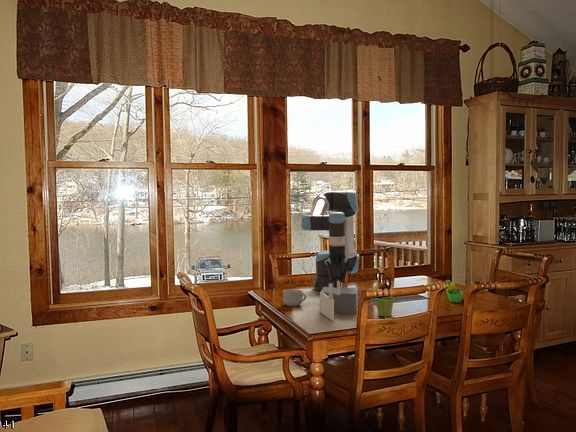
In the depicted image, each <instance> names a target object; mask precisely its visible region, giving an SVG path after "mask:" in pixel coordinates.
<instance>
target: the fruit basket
mask: <svg viewBox="0 0 576 432" xmlns="http://www.w3.org/2000/svg"><path fill="white" fill-rule="evenodd" d="M445 282H447V283H448V288H447V289H446V288H445V290H446V291H445V292H446V293H447V298H448V299H449V302H450V303H461V302H462V298H463V295H464V293H463V291H462V290H461V289H460V288H459V289H458V288H457V287H456V284H455V283H454V282H452V281H451V280H449V279H447V280H445Z"/></svg>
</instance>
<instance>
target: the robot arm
mask: <svg viewBox="0 0 576 432" xmlns="http://www.w3.org/2000/svg"><path fill="white" fill-rule="evenodd" d="M358 201H359V200H358V197H357V192H355V191H354V190H327V191H324V192H321V193H320V194H318V195H316V197H314V199H313V201H312V205H311V206H312V207H311V209H310V212H309V214H306V215H302V217H301V222H300V225H301V229H302V230H303V231H309V232H311V231H328V244H329V246H328V251H321V252H318V253H316V256H315V280H314V283H313V288H312V289H313V290H314V291H317V292H321V290H322V289H323V287H329V284H330V283H332V284H333V287H334V288H335V294H336V295H340V287H342V286H343V285H342V283H343V280H346V278H347V274H355V273H358V270H359V264H360V253H358V252H357V250H356V248H355V232H354V231H355V230H354V229H355V228H354V226H355V225H354V216H355V215H357V214H356V212H358V211H359V202H358ZM326 212H329V214H328V215H326Z"/></svg>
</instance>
